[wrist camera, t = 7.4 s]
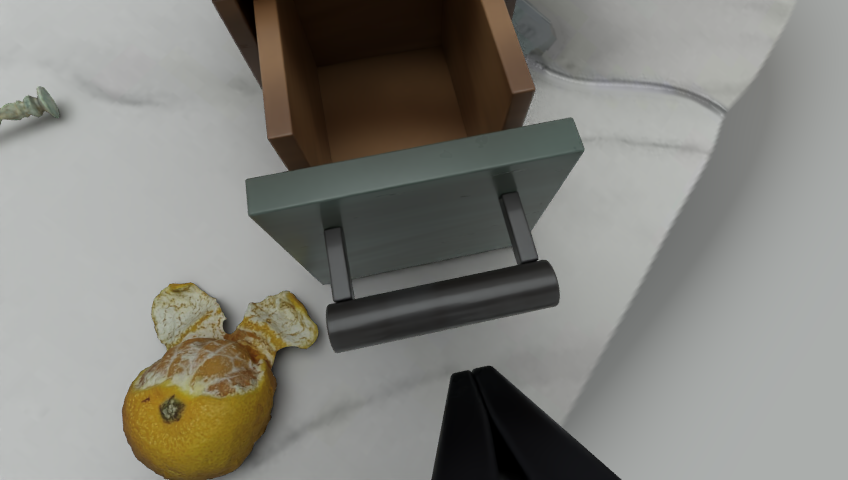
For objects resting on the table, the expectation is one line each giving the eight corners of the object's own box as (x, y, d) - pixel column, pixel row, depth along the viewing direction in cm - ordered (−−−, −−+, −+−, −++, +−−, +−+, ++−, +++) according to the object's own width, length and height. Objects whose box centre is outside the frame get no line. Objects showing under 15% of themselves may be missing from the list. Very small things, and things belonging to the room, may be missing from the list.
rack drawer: (547, 324, 19) (635, 278, 11) (333, 370, 19) (258, 359, 11) (463, 44, 25) (480, -129, 16) (294, 74, 24) (222, -89, 16)
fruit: (326, 295, 21) (305, 278, 17) (295, 486, 18) (263, 510, 15) (163, 282, 21) (111, 261, 18) (109, 466, 19) (36, 485, 15)
